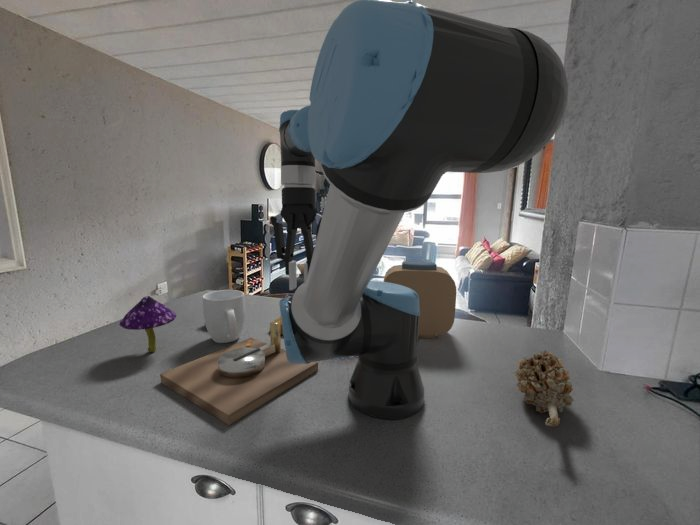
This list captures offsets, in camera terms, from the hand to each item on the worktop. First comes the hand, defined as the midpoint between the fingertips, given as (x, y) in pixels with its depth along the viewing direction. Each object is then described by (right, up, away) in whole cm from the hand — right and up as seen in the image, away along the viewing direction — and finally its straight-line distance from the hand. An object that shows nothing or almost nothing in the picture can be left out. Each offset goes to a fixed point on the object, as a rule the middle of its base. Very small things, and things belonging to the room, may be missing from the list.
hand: (300, 288), depth 78 cm
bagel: (-7, -15, +24) cm, 29 cm away
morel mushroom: (+48, -22, -16) cm, 55 cm away
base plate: (-12, -19, -3) cm, 23 cm away
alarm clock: (+32, -15, +23) cm, 42 cm away
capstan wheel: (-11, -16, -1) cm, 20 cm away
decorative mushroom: (-40, -17, +8) cm, 44 cm away
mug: (-23, -16, +16) cm, 32 cm away
